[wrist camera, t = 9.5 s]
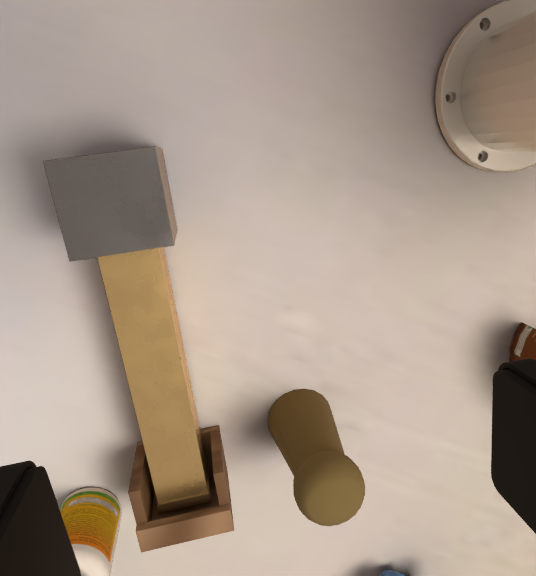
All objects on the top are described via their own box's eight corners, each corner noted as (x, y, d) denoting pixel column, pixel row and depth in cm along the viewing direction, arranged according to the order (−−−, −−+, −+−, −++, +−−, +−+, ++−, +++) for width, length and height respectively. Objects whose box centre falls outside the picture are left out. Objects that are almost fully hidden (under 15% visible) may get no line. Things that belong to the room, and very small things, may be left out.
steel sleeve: (162, 148, 33) (155, 146, 27) (177, 228, 35) (174, 245, 28) (73, 160, 32) (43, 161, 26) (93, 241, 34) (69, 261, 28)
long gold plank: (155, 199, 33) (151, 205, 29) (209, 467, 40) (211, 501, 36) (97, 207, 33) (84, 214, 29) (162, 478, 40) (158, 513, 36)
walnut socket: (218, 425, 40) (224, 478, 34) (227, 471, 42) (234, 530, 35) (137, 442, 40) (126, 499, 33) (149, 488, 41) (141, 552, 34)
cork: (254, 424, 41) (275, 514, 31) (299, 376, 40) (336, 452, 30) (300, 457, 43) (335, 554, 32) (344, 412, 42) (394, 496, 32)
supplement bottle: (57, 487, 40) (17, 587, 30) (121, 483, 40) (101, 579, 31) (61, 537, 41) (23, 646, 32) (123, 532, 42) (103, 637, 33)
